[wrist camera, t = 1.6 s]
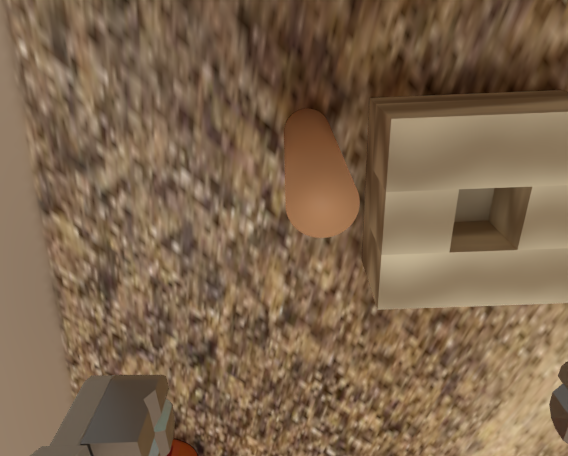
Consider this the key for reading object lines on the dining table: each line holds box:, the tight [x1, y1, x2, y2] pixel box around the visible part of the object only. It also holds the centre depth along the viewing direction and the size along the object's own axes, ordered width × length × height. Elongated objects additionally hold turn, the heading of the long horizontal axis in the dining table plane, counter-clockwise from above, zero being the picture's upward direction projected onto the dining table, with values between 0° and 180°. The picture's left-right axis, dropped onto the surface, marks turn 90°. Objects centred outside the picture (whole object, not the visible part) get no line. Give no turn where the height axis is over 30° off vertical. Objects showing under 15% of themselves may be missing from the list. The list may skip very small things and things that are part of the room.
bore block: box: [362, 90, 568, 310], centre depth 27 cm, size 12×12×6 cm
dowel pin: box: [284, 108, 360, 238], centre depth 23 cm, size 3×3×12 cm
